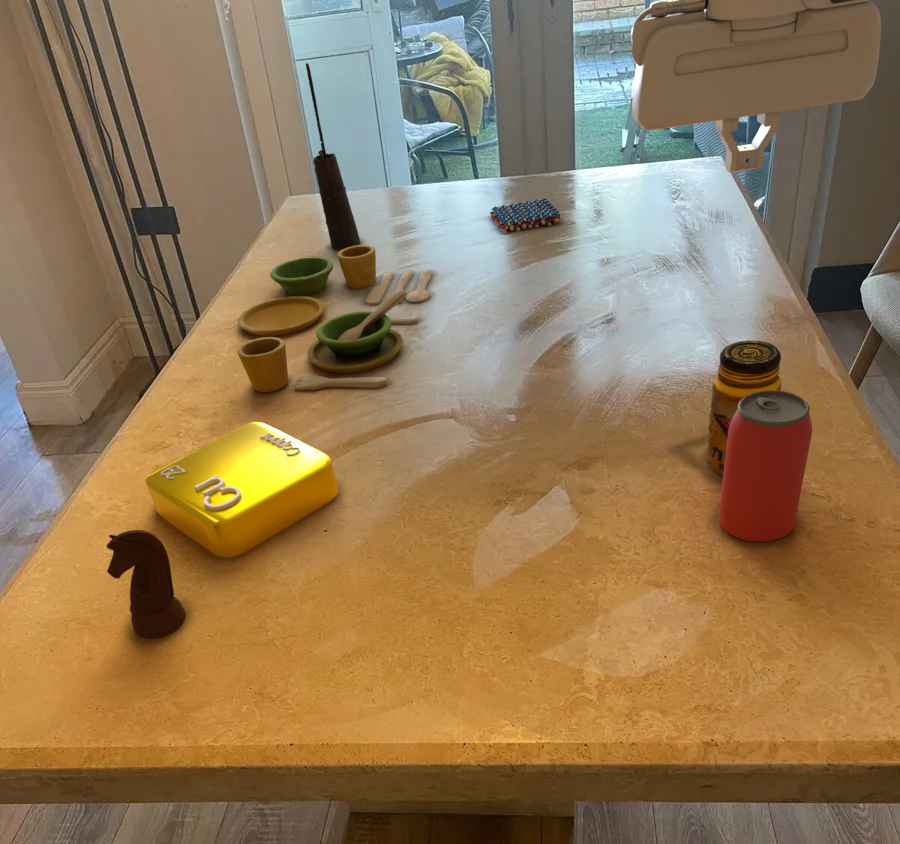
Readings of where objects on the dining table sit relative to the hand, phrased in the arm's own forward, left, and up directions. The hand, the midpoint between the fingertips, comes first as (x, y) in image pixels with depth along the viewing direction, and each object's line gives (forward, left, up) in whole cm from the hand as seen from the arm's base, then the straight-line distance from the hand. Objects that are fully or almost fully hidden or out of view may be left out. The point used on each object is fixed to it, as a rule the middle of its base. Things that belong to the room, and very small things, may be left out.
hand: (743, 169), depth 78 cm
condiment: (+2, +11, -24) cm, 27 cm away
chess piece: (+57, +27, -24) cm, 67 cm away
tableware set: (+47, -35, -25) cm, 63 cm away
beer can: (+3, +22, -24) cm, 33 cm away
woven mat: (+15, -71, -24) cm, 77 cm away
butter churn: (+47, -71, -24) cm, 88 cm away
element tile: (+52, +9, -24) cm, 58 cm away
